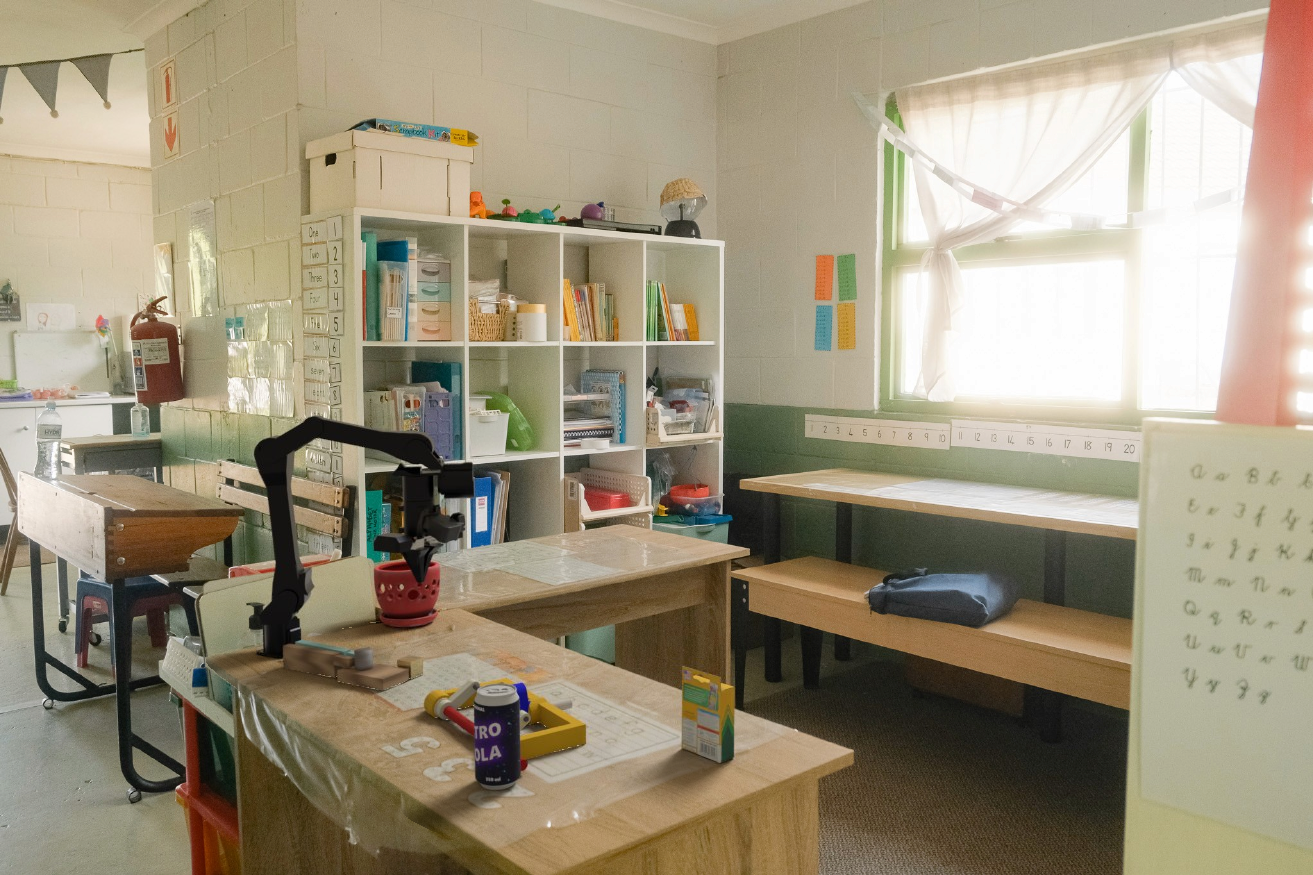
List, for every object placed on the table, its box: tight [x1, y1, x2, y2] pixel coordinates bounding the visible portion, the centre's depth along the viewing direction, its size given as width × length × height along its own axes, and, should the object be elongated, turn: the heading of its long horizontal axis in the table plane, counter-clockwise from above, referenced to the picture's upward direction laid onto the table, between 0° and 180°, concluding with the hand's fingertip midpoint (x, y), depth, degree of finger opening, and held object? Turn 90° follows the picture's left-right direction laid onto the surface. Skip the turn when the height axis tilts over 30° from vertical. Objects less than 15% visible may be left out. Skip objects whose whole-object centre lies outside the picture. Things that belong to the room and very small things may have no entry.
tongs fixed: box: [282, 644, 409, 691], centre depth 166 cm, size 24×6×5 cm, turn 62°
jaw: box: [295, 639, 355, 669], centre depth 169 cm, size 15×2×4 cm, turn 60°
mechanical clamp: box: [423, 677, 587, 772], centre depth 142 cm, size 18×6×30 cm
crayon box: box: [681, 665, 736, 764], centre depth 132 cm, size 7×3×12 cm, turn 44°
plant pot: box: [373, 560, 441, 628], centre depth 200 cm, size 13×13×12 cm
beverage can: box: [473, 683, 522, 791], centre depth 123 cm, size 6×6×12 cm
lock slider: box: [396, 654, 424, 679], centre depth 166 cm, size 3×3×3 cm
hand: (420, 582), depth 183 cm, fingers closed
